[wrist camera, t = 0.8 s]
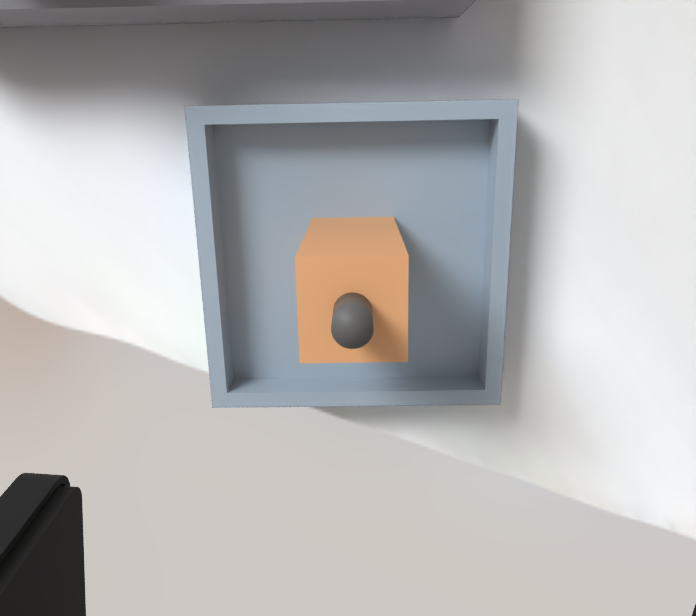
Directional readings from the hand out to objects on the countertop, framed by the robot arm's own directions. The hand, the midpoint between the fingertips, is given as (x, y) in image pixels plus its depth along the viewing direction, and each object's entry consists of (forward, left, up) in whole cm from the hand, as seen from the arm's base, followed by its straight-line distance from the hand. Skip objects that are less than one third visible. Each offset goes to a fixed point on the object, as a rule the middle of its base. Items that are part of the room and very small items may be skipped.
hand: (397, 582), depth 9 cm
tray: (+1, 0, -24) cm, 24 cm away
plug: (+1, 0, -23) cm, 23 cm away
